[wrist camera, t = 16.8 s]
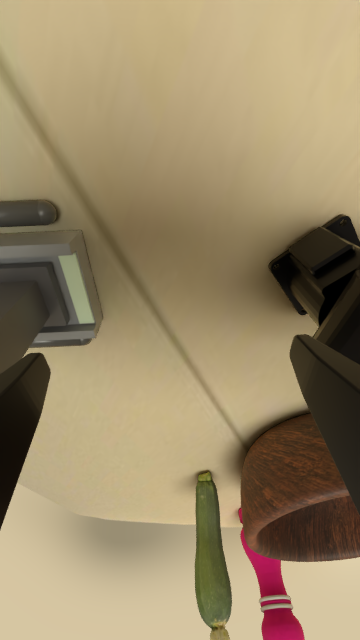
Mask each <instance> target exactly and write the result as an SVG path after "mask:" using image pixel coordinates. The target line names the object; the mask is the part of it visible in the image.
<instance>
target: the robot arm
mask: <svg viewBox="0 0 360 640" xmlns="http://www.w3.org/2000/svg"><path fill="white" fill-rule="evenodd" d="M342 220H344V222H343V223H342V224H341V225H340V222H341V221H342ZM276 264H278V266H277V267H276V268H273V267H274V266H275V265H276ZM269 269H270V270H271V272H272V273H273V275H274V277H275V278H276V280H277V281H278V283H279V284H280V286H281V287H282V289H283V290H284V292H285V293H286V295H287V296H288V298H289V300H290V301H291V303H292V304H293V306H294V307H295V309H296V310H297V312H298V313H299V314H300V315H305V314H307V313H308V314H309V315H310V317H311V318H312V319H313V320H314V322H315V323H316V324H317V326H318V327H319V328H318V330H317V331H316V333H315V334H314V336H313V337H311V336H309V335H306V334H304V335H296V336H295V337H294V338H293V342H292V346H291V349H290V359H291V362H292V365H293V368H294V371H295V374H296V377H297V380H298V383H299V386H300V389H301V392H302V394H303V397H304V399H305V401H306V403H307V405H308V408H309V410H310V412H311V414H312V416H313V418H314V420H315V422H316V425H317V427H318V429H319V431H320V433H321V435H322V437H323V439H324V441H325V444H326V446H327V448H328V450H329V452H330V454H331V456H332V458H333V461H334V463H335V465H336V467H337V469H338V471H339V473H340V475H341V477H342V480H343V482H344V484H345V486H346V488H347V490H348V492H349V494H350V496H351V499H352V501H353V503H354V505H355V507H356V509H357V511H358V513H359V516H360V242H359V239H358V237H357V234H356V232H355V229H354V227H353V224H352V222H351V219H350V218H349V217H348V216H346V215H340V216H338V217H336V218H335V219H333V220H332V221H330V222H329V223H327V224H326V225H324V226H323V227H319V228H317V229H316V230H314V231H313V232H312V233H310V234H309V235H307V236H306V237H304V238H303V239H301V240H300V241H298V242H297V243H295V244H294V245H292V246H291V247H290V249H289V250H287V251H286V252H284V253H283V254H282V255H280V256H279V257H277V258H276V259H274V260H273V261H271V262H270V264H269ZM303 308H304V310H302V309H303ZM50 374H51V372H50V368H49V366H48V364H47V361H46V359H45V357H44V355H43V354H42V353H30V354H27V355H26V356H25V357H23V358H22V359H20V360H19V361H18V362H16V363H15V364H13V365H12V366H11V367H9V368H8V369H6V370H5V371H4V372H2V373H1V374H0V529H1V526H2V523H3V520H4V518H5V515H6V512H7V509H8V506H9V504H10V501H11V498H12V495H13V492H14V490H15V487H16V484H17V481H18V478H19V476H20V473H21V470H22V467H23V464H24V461H25V459H26V456H27V453H28V450H29V447H30V445H31V442H32V439H33V436H34V433H35V431H36V428H37V425H38V422H39V419H40V416H41V413H42V409H43V405H44V401H45V396H46V392H47V388H48V383H49V379H50Z"/></svg>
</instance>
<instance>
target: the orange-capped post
mask: <svg viewBox="0 0 360 640" xmlns="http://www.w3.org/2000/svg"><path fill="white" fill-rule="evenodd" d="M69 321H70V319H69V316H68V313H67V310H66V307H65V304H64V301H63V298H62V295H61V292H60V289H59V286H58V283H57V280H56V277H55V274H54V271H53V268H52V265H51V262H45V263H23V264H1V265H0V374H1V373H2V372H4V371H5V370H6V369H8V368H9V367H11V366H12V365H13V364H15V363H16V362H18V361H19V360H20V359H22V357H23V356H24V354H25V353H26V351H27V350H28V348H29V347H30V345H31V344H32V342H33V341H34V339H35V338H36V336H37V335H38V333H39V332H40V330H41V329H42V327H47V326H67V324H68V322H69Z"/></svg>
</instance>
